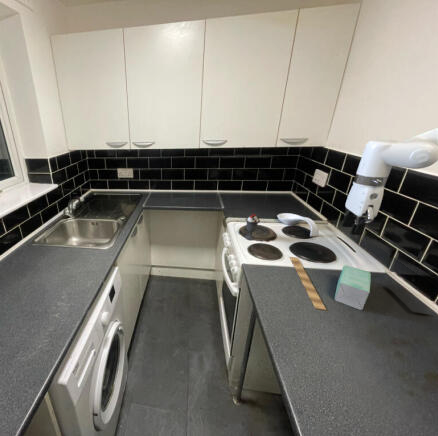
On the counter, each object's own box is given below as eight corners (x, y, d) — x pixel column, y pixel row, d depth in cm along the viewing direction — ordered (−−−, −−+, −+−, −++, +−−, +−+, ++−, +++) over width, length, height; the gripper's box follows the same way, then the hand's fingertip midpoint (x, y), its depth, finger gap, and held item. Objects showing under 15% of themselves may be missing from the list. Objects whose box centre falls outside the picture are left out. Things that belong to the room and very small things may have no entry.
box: (364, 288, 82) (371, 271, 78) (362, 311, 73) (370, 292, 70) (338, 279, 86) (344, 263, 83) (333, 300, 77) (340, 282, 74)
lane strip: (289, 257, 100) (289, 256, 100) (297, 258, 100) (297, 257, 99) (315, 308, 74) (315, 307, 74) (326, 310, 73) (326, 309, 73)
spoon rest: (271, 219, 136) (274, 208, 133) (288, 217, 138) (291, 206, 135) (305, 238, 115) (308, 225, 112) (324, 235, 117) (328, 222, 114)
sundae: (244, 240, 115) (248, 213, 109) (241, 234, 121) (245, 208, 115) (258, 241, 114) (263, 213, 107) (254, 235, 120) (259, 208, 113)
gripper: (403, 188, 65) (379, 243, 73) (368, 174, 80) (351, 221, 88) (371, 187, 67) (350, 241, 75) (342, 173, 82) (328, 219, 90)
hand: (351, 230), depth 81 cm, fingers open, 5 cm apart
